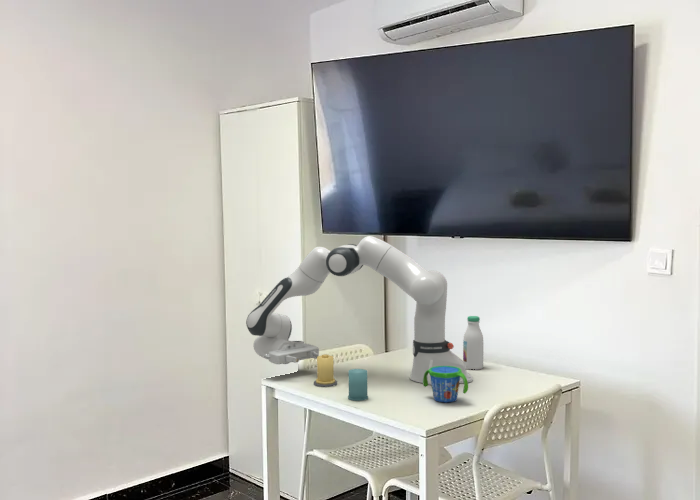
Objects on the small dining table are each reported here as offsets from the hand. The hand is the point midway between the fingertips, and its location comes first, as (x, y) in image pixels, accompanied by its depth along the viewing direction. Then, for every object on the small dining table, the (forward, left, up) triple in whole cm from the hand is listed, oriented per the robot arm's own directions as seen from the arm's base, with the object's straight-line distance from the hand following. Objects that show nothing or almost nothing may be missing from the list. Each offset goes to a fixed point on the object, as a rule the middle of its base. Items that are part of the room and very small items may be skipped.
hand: (307, 358), depth 254 cm
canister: (-16, +26, -8) cm, 32 cm away
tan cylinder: (-6, +7, -7) cm, 12 cm away
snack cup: (-44, +31, -8) cm, 55 cm away
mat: (-6, +7, -8) cm, 12 cm away
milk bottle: (-64, -11, -8) cm, 66 cm away
